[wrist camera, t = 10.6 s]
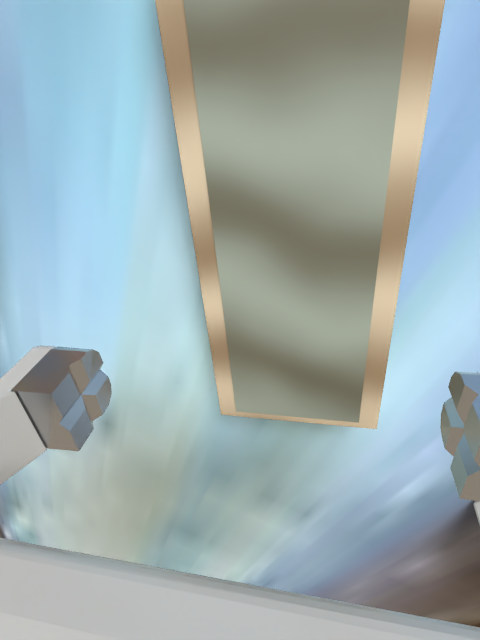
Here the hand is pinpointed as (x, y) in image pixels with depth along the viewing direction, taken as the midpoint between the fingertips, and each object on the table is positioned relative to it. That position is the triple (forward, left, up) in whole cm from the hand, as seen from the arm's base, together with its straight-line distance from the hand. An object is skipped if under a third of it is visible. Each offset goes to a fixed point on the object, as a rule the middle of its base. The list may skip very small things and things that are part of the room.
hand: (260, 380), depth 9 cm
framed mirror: (0, 0, -13) cm, 13 cm away
